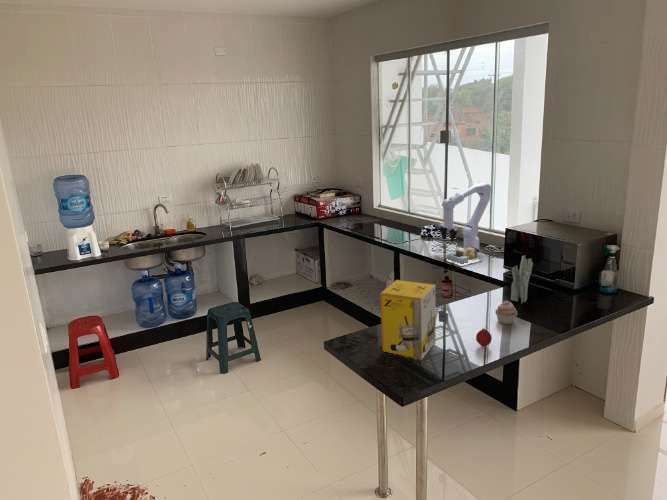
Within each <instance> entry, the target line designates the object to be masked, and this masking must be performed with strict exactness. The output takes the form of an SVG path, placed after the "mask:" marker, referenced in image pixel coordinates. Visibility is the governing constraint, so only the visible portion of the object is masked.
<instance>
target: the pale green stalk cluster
mask: <svg viewBox="0 0 667 500" xmlns="http://www.w3.org/2000/svg"><path fill="white" fill-rule="evenodd" d="M520 260H521V261H520V265H519V269H518V265H515V266H512V268H511V274H512V278H513V279H512V280H513V281H512V283H511V287H510V289H511V290H510V291H511V292H510V301H514V302H517V303H518V302H519V299H520V303H521V304H523V303H526V302H527V300H528V288H529V283H530V282H529V281H530V276H531V274H532V270H533V265H534V262H533V259H532V258H526V255H522V256H521V259H520Z"/></svg>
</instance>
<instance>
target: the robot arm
mask: <svg viewBox="0 0 667 500" xmlns="http://www.w3.org/2000/svg"><path fill="white" fill-rule="evenodd" d="M492 191H493V188H492V185H491V184H490V183H485V182H480V181H478V182H476V183H474V184H473V185H472V186H471V187H469V188H468V189H466V190H464V191H463V192H456V193H455V194H454V195H453V196H450V197H448V198H445V199H443V201H442V203H441V206H442V208H443V222H442V223H439V228H438V230H439V232H440V234H441V237H442V239H443V240H444V239H447V233H448V232H449V237H450V242H454V241H455V238H456V236H457V234H458V232H459V230H458V227H457V226H455V225H454V209H455V208H456V206H457V205H459V204H461V203H463V202H464V200H465V199H466V198H467V197H469V196H472V195H473V194H478V196H479V201H478V203H477V205H476V207H475V209H474V211H473V214H472V216H471V218H470V219H469V221H468V222H466V223H465V225H464V226H463V227H462V228H461V234H462V235H463V249H465V248H469V247H475V248H477V249H480V238H479V237H478V234H479V229H480V227H479V223H480V221H481V219H482V217H483V215H484V213H485V211H486V208H487V207H488V204H489V203H490V200H491V195H492ZM447 231H448V232H447Z"/></svg>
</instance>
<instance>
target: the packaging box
mask: <svg viewBox="0 0 667 500" xmlns="http://www.w3.org/2000/svg"><path fill="white" fill-rule="evenodd" d="M436 290H437V289H436V284H433V283H424V282H417V281H411V280H410V281H409V280H402V279H401V280H400V279H396V280H395V281H394V282H392V283H391V284H389V286H388V287H386V288H384V290H383V291H382V292H380V295H379V296H380V320H381V321H380V323H381V343H382V344H381V347H382V351H384V352H388V353H393V354H398V355H403V356H407V357H412V358H418V359H423V358H424V359H425V357H426V356H427V355H428V353H429V352H430V351H431V349H432V348H433V347H434V345H435V344H436V343H435V342H436V341H437V340H436V339H437V338H436V337H437V333H436V330H437V326H436V323H437V322H436V317H437V316H436V313H437V312H436V309H437V308H436V307H437V306H436V299H437V298H436V296H437V295H436ZM434 343H435V344H434ZM433 344H434V345H433ZM432 346H433V347H432ZM431 347H432V348H431ZM430 348H431V349H430ZM429 350H430V351H429ZM428 351H429V352H428ZM427 352H428V353H427ZM426 354H427V355H426ZM425 355H426V356H425ZM424 356H425V357H424ZM424 359H423V360H424Z"/></svg>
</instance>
